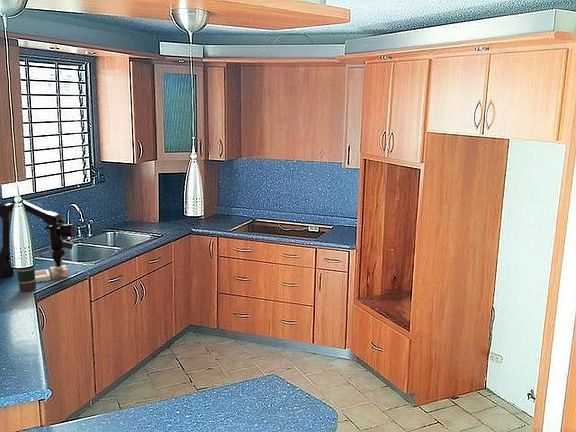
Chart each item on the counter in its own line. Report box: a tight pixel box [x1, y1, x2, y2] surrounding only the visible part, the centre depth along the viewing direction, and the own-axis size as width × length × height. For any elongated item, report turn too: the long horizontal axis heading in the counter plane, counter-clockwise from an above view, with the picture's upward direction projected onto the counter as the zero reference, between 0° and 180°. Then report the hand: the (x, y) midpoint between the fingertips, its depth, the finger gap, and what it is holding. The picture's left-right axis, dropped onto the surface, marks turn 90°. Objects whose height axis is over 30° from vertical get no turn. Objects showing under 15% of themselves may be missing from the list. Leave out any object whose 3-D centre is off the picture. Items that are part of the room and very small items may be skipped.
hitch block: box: [49, 264, 69, 280], centre depth 310 cm, size 8×10×4 cm
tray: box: [34, 269, 52, 283], centre depth 305 cm, size 11×14×2 cm
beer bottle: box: [16, 265, 37, 293], centre depth 285 cm, size 8×8×24 cm
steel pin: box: [52, 257, 63, 270], centre depth 309 cm, size 4×4×9 cm
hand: (58, 265), depth 309 cm, fingers closed on steel pin, 4 cm apart
